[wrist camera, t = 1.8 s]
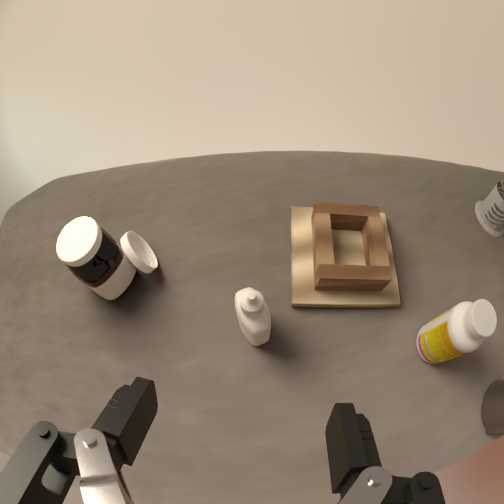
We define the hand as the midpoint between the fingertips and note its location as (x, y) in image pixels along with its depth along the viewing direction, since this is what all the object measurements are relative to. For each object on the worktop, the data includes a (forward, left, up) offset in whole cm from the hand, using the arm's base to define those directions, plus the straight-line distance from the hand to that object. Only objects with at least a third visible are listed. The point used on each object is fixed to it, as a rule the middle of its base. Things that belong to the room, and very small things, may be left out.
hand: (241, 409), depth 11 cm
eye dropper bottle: (+10, 0, -25) cm, 27 cm away
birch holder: (+21, -13, -25) cm, 35 cm away
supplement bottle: (+7, -27, -25) cm, 37 cm away
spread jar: (+17, +21, -25) cm, 37 cm away
